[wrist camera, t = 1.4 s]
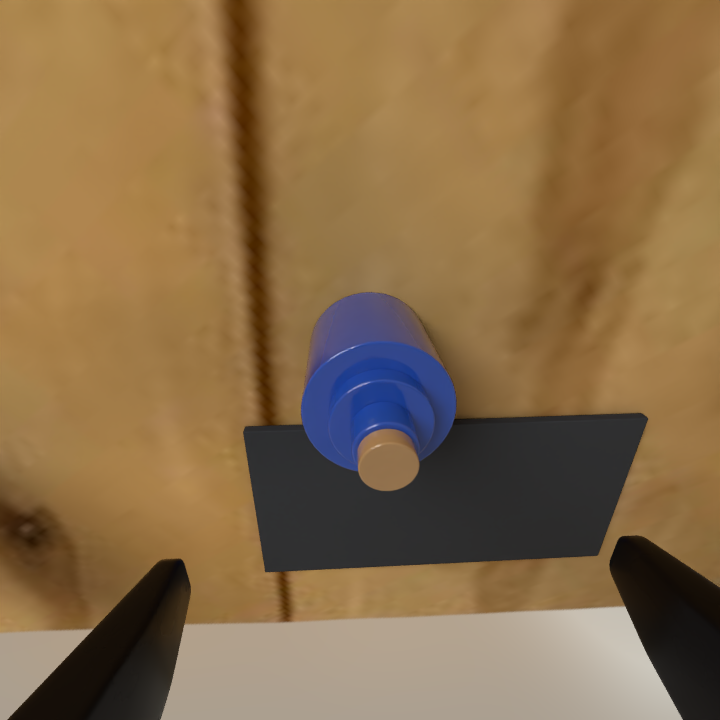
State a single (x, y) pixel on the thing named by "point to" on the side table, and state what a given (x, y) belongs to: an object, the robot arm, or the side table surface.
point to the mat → (446, 495)
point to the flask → (375, 390)
